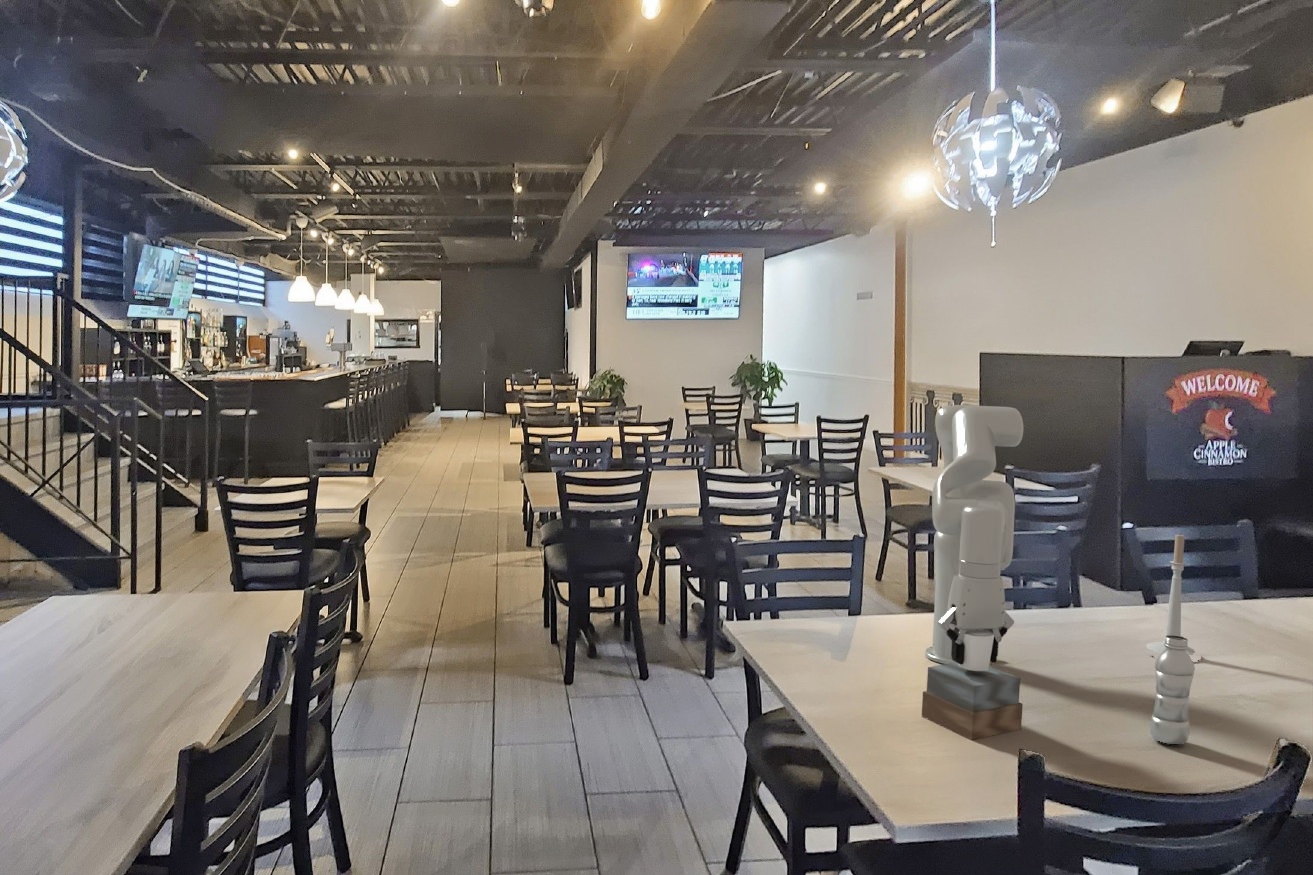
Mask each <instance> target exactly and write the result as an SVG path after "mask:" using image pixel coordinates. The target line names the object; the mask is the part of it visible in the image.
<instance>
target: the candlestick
mask: <svg viewBox="0 0 1313 875" xmlns="http://www.w3.org/2000/svg"><path fill="white" fill-rule="evenodd" d="M1174 537H1175V538H1174V549H1173V560H1170V561H1169V563H1170V564H1171V570H1172V573H1173V575H1172V577H1171V584H1170V586H1171V587H1170V591H1169V593H1170V594H1169V601H1168V608H1167V616H1166V624H1165V630H1164V638H1163V640H1162V641H1153V642H1150V643H1146V644H1145V645H1146V646H1147V648H1148V649H1150V650H1153V651H1154V652H1158V653H1162V652H1163V651H1164V650H1165V649H1166V647H1165V646H1164V643H1165V637H1166V635H1177V636H1181V635H1182V634H1181V633H1182V632H1181V630H1182V628H1181V627H1182V625H1181V624H1182V622H1181V621H1182V579H1183V577H1182V572H1183V571H1184V570H1185V569H1184V568H1185V567H1184V566H1186V565H1187V562H1184V549H1185V535H1184V534H1175V535H1174ZM1194 650H1195V649H1194V648H1192V647H1189V646H1188V649H1187V650H1186V652H1187V654H1188V655H1193V653H1195V651H1196V650H1195V651H1194Z"/></svg>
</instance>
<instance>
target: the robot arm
mask: <svg viewBox="0 0 1313 875" xmlns="http://www.w3.org/2000/svg"><path fill="white" fill-rule="evenodd" d="M934 422H935V423H934V424H935V432H936V438H937V440H938V443H939V446H940V449H941V452H942V456H943V457H942V458H943V469H942V470H941V472H940V473H939V475H938V476H937V477H936V479H935V482H934V485H933V488H932V496H931V497H932V498H931V504H932V506H931V508H932V509H931V510H932V512H931V513H932V516H931V517H932V524H933V526H934V530H935V531H936V532H935V534H934V537H933V538H934V539H933V548H934V549H933V550H934V551H933V552H934V557H935V558H934V559H935V560H934V561H935V590H934V593H935V594H934V611H933V612H934V613H933V631H932V646H929V647H927V648H925V654H924V655H925V657H926V658H928V659H929V660H931V661H933V662H936V663H940V664H941V665H944V664H950V663H956V662H957V663H958V664H963V663H964V650H965V645H964V644H963V643H962V641H963V639H964V636H965V634H966V632H967V630H979V629H987V630H991V631H992V632H993V633H994V640H993V646H992V652H991V658H990V662H991V663H995V664H996V663H997V660H998V655H999V643H1001V642H1002V640H1003V639H1002V638H1003V637H1004V636H1005V635H1006V634H1007V633H1008V631H1009V629H1010V628H1011V627H1012V626H1013V625H1014V624H1015V620H1014V618H1012V616H1010V615H1009V613H1008V612H1006V600H1005V598H1006V597H1005V588H1004V587H1005V586H1004V582H1003V577H1001V571H1005V570H1006V569H1007V568H1008V567H1009V566H1010V565H1011V563H1012V559H1013V553H1014V551H1013V550H1014V537H1015V536H1014V532H1015V531H1014V530H1015V510H1016V509H1015V508H1016V506H1015V504H1016V503H1015V501H1016V499H1015V492H1014V490H1013V488H1012V486H1011V485H1010V484H1009V483H1007V482H1005V481H1003V480H1002V481H1001V480H993V479H992V480H989V479H987V477H989V476H990V475H991V474H993V473H994V471H995V470H996V467H997V457H996V449H995V448H996V447H1013V448H1014V447H1017V446H1018V445H1020V443H1021V441H1022V439H1023V435H1024V421H1023V417H1022V415H1021V412H1020V411H1019V410H1018V409H1017V408H1015V407H1011V406H1010V407H1009V406H989V405H974V404H973V405H970V404H952V405H946V406H943V407H941V408H939V409H938V410H937V412H936V413H935V418H934ZM958 631H959V632H958Z"/></svg>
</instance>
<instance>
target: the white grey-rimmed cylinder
mask: <svg viewBox="0 0 1313 875" xmlns="http://www.w3.org/2000/svg"><path fill="white" fill-rule="evenodd" d="M958 632H959V631H958ZM993 640H994V633H993V632H992V631H991V630H987V629H979V630H967V632H966V634H965V636H964V639H963V641H962V643H963V644H964V645H965V650H964V663H963V664H958V665H959V666H960V667H962V668H964V669H968V670H973V671H986V670H988V669H989V666H990V662H991V661H990V658H991V652H992V646H993Z"/></svg>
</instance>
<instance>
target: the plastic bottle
mask: <svg viewBox="0 0 1313 875" xmlns="http://www.w3.org/2000/svg"><path fill="white" fill-rule="evenodd" d="M1164 637H1165V636H1164ZM1188 642H1189V640H1188V638H1187V637H1185V636H1183V635H1182V636H1177V635H1166V637H1165V643H1164V646H1165V647H1166V649H1165V650H1164V651H1163V652H1162V653H1161V654H1160V655H1159V656H1158V658H1157V659H1155V663H1154V668H1155V669H1154V670H1155V672H1154V673H1155V681H1156V682H1155V684H1156V685H1155V700H1154V701H1155V702H1154V707H1153V712H1152V715H1151V719H1150V722H1149V732H1150V735H1151V738H1152V739H1153V738H1154V739H1153V740H1155V741H1156V740H1157V741H1156V742H1158V741H1160V742H1159V743H1161V742H1163V743H1162V744H1164V743H1167V744H1166V745H1169V744H1183V743H1184V744H1186V743H1187V742H1188V741H1189V740H1188V739H1189V737H1190V733H1191V730H1190V721H1189V699H1190V698H1189V697H1190V693H1191V686H1192V683H1193V679H1194V674H1195V670H1196V668H1195V664H1194V663H1193V661H1192V660H1191V658H1190V656H1189V655H1188V654H1187V652H1186V650H1187V649H1188V647H1189V646H1188ZM1184 744H1183V745H1184Z"/></svg>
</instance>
